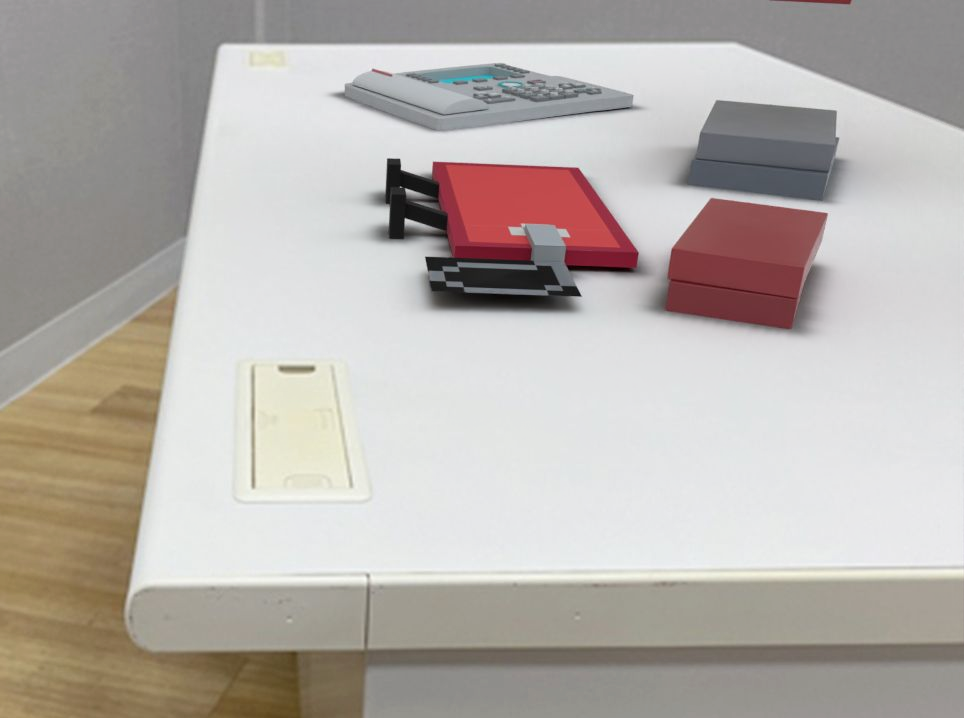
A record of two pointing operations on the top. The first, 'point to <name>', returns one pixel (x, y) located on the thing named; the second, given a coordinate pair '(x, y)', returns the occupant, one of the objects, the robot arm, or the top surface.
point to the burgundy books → (744, 262)
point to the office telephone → (480, 95)
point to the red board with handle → (509, 226)
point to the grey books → (766, 149)
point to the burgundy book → (821, 1)
